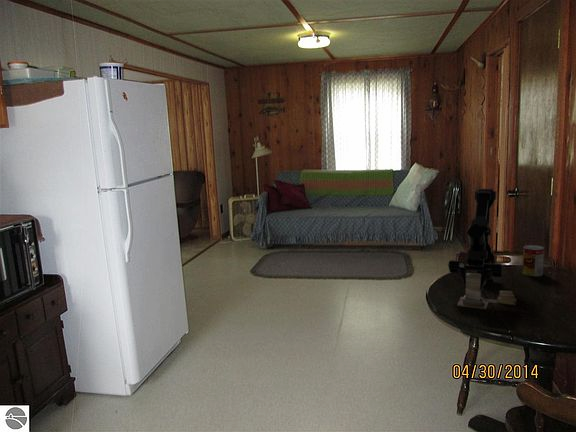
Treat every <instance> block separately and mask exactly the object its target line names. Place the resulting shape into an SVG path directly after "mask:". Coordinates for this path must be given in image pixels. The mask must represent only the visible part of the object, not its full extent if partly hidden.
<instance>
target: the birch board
mask: <svg viewBox="0 0 576 432" xmlns="http://www.w3.org/2000/svg"><path fill="white" fill-rule="evenodd" d="M480 284H481V274H476V272H466V288H465V295H466V299H470V300H479V301H481V297H482V290H480Z"/></svg>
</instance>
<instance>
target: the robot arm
mask: <svg viewBox="0 0 576 432" xmlns="http://www.w3.org/2000/svg"><path fill="white" fill-rule="evenodd" d="M497 195H498V194H497V191H495V190H494V188H478V190H475V191H474V200H475V201H476V209H475V217H474V218H473V219H472V220H471V223H470V225H469V227H468V229H467V230H466V233H467V236H468V243H469V249H468V250H467V251H466V252H467V254H466V255H467V256H466V263H467V264H466V263H461V260H457V259H456V260H454V259H451V260H450V259H449V262H448V265H447V266H448V271H449V273H453V274H457V275H458V276H461V278H462V281H463V286H464V289H466V274H467V272H466V271H475V273H476V274H481V284H480V290H481V291H482V290H483V288H484V286H485V285H486V283H487V282H488V281H492V280H494V279H493V277H494V278H502V277H503V265H502V264H501V263H496V256H495V254H494V252H493V249H492V247H491V244H490V243H489V239H490V238H489V237H490V236H491V234H492V228H491V227H490V220H491V218H490V217H491V209H492V208H493V207H494V205H495V203H496V202H495V201H496V200H497V197H498V196H497Z"/></svg>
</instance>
